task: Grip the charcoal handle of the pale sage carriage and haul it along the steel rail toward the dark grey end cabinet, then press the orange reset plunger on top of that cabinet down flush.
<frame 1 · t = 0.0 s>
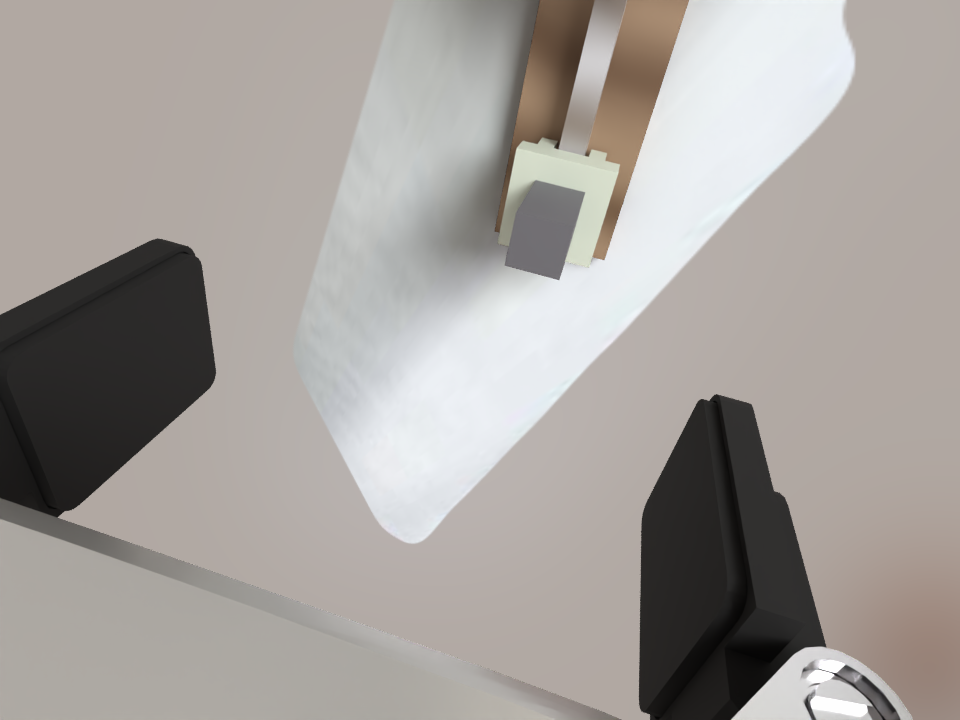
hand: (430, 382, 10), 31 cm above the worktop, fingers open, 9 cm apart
rail bench: (599, 54, 34), on the worktop
carriage: (551, 215, 33), point 7 cm above the worktop, slide at 0.0 cm
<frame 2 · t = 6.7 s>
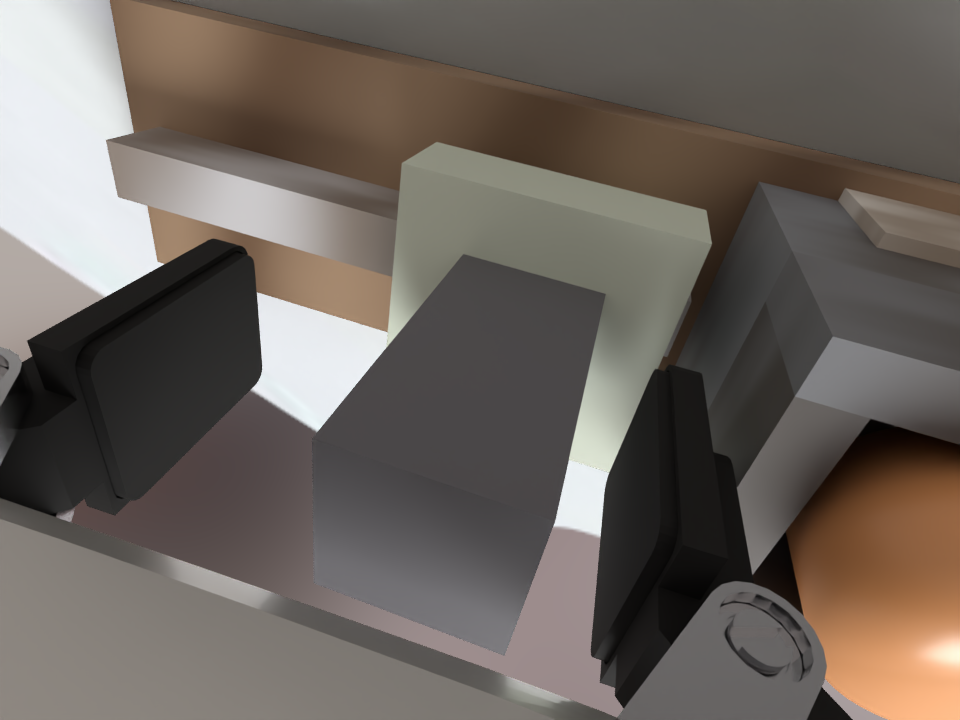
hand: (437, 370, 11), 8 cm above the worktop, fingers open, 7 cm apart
rail bench: (514, 229, 17), on the worktop
carriage: (507, 358, 11), point 7 cm above the worktop, slide at 9.5 cm
reset plunger: (944, 579, 9), point 9 cm above the worktop, slide at 0.0 cm
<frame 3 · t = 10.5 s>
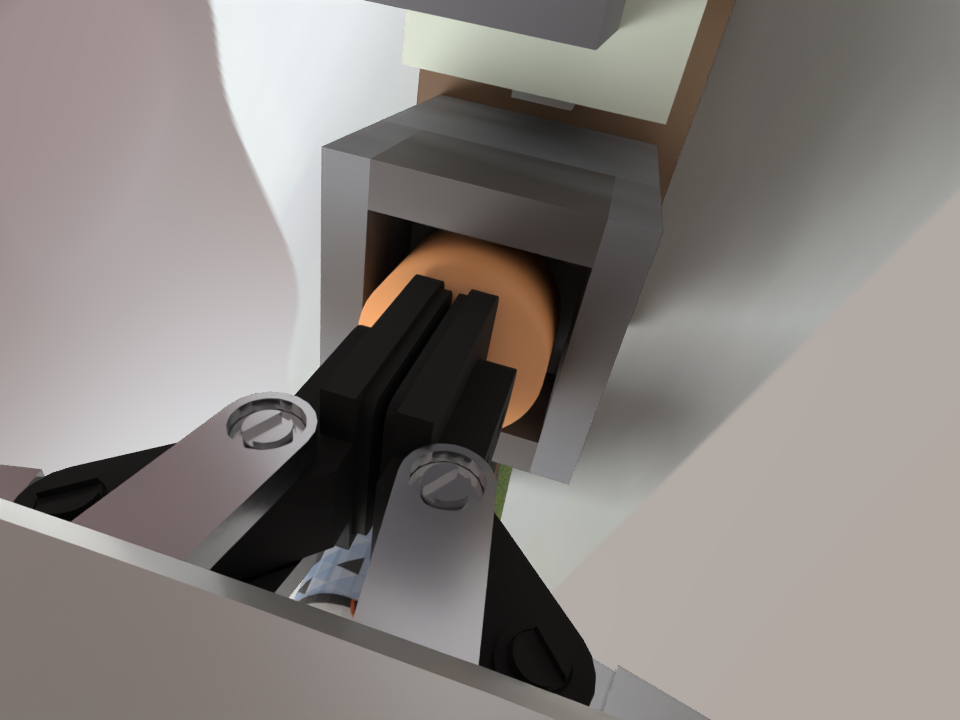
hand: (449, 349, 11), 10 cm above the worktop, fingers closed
beverage can: (459, 430, 26), on the worktop
reset plunger: (464, 328, 13), point 9 cm above the worktop, slide at 0.4 cm, touching gripper
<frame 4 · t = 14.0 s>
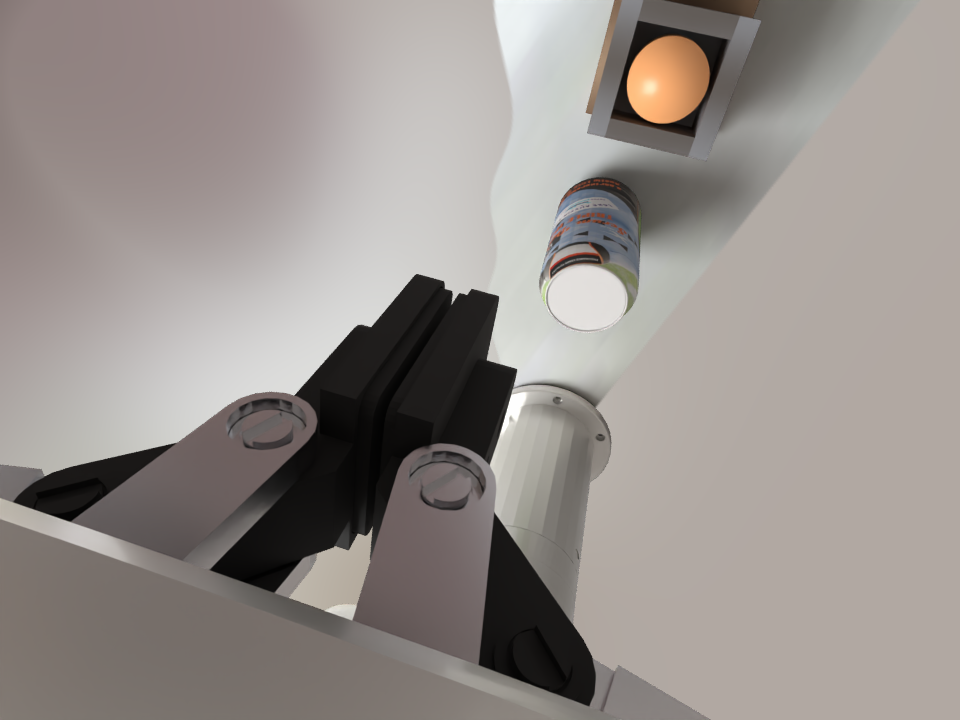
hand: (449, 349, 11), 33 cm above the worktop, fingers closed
beverage can: (599, 220, 43), on the worktop
reset plunger: (666, 78, 30), point 8 cm above the worktop, slide at 1.2 cm
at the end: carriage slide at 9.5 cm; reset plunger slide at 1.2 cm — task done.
